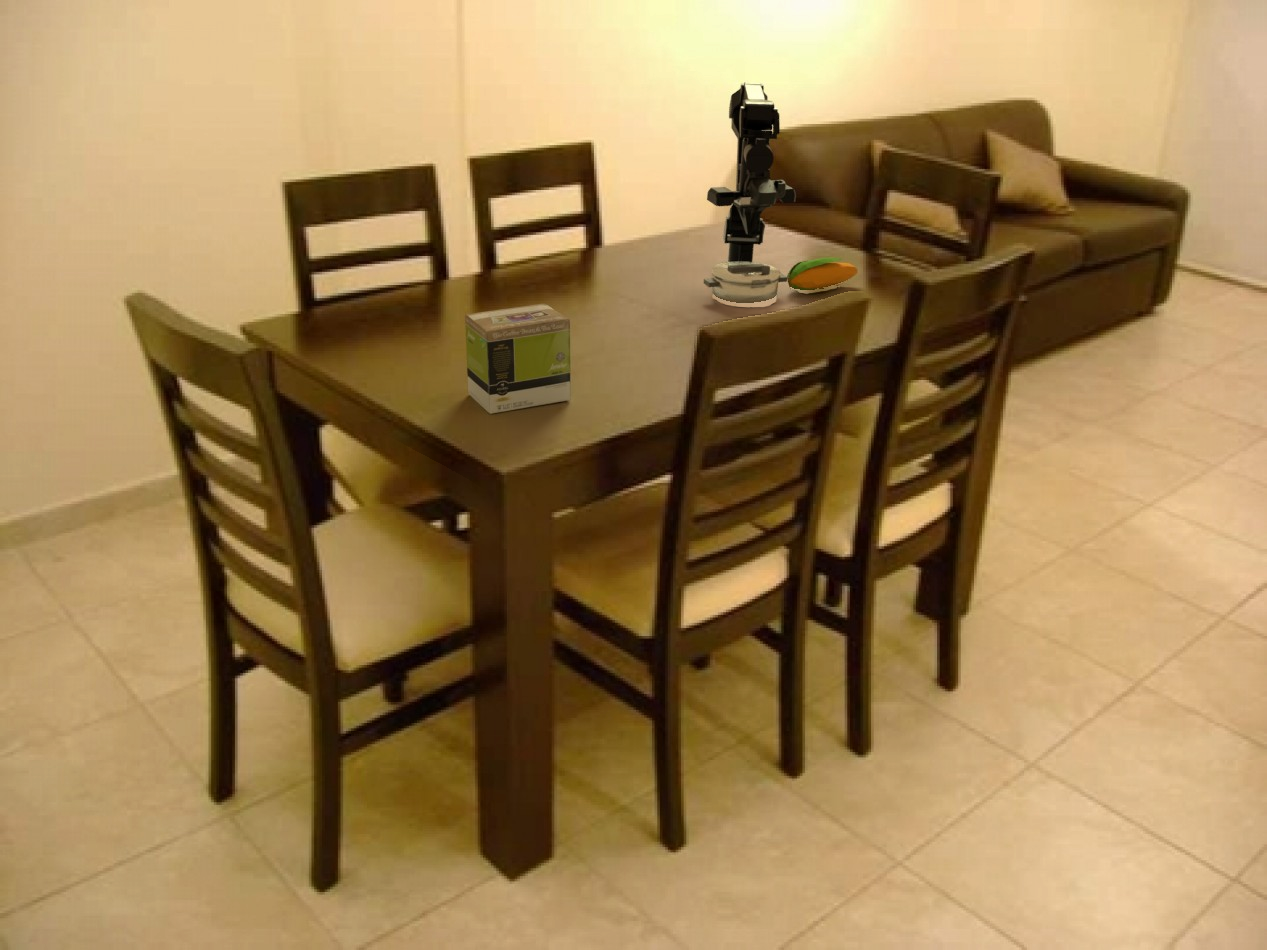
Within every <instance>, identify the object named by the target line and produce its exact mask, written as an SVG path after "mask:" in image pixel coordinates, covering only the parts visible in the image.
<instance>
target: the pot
mask: <svg viewBox="0 0 1267 950" xmlns="http://www.w3.org/2000/svg"><path fill="white" fill-rule="evenodd" d="M786 282H787V283H788V280H787V275H785V274H783V273H781V274H780V279H779V280H778V281H776V282H773V283H770V284H762V285H746V284H736V283H730V282H726V281H722V280H719V279H717V278H715V277H714V276H713V275H712V277H709V278H707V277H706V278H703V284H704V285H705V286H707V287H708V288H712V289H711V294H712V293H713V294H714V295H715V296H716V297H718V298H720V299H723V300H726V301H730V302H736V303H754V302H761V301H766V300H769V299H772V298H774V297H775V296H776V295H777V296H778V292H779V291H778V289H779V288H778V287H779V283H786Z"/></svg>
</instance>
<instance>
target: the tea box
mask: <svg viewBox="0 0 1267 950" xmlns="http://www.w3.org/2000/svg"><path fill="white" fill-rule="evenodd" d="M464 318H465V319H464V322H465V323H464V324H465V341H466V343H465V344H466V372H467V388H468V390H467V391H468V394H469V395H470V397H471V398H472V399H473V400H474V401H475V402H477V404H478V405H479V406H480V407H481V408H483V409H484V410H485V411H486V412H487V413H488V414H498V413H502V412H508V411H514V410H520V409H525V408H532V407H536V406H537V407H538V406H542V405H549V404H555V403H559V402H561V403H562V402H567V401H571V399H572V398H571V395H572V393H571V387H572V386H571V321H570V318H568V317H567V316H565V315H563V314H561V313H560V312H559V311H557V310H556V309H553V308H552V307H551V306H549V305H548V304H547V303H539V304H536V303H535V304H530V305H524V306H517V307H511V308H501V309H496V310H488V311H487V310H486V311H482V312H475V313H473V312H472V313H467V314H466V313H465V317H464Z"/></svg>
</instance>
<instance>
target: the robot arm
mask: <svg viewBox="0 0 1267 950" xmlns="http://www.w3.org/2000/svg"><path fill="white" fill-rule="evenodd" d="M764 89H765V87H764V83H763V84H762V83H761V82H744V83H740V87H739V89H738V90H736V91H735V92H733V93H732V94H731V96H730V101H729V107H728V108H729V109H728V110H729V111H728V119H731V121H730V122H731V123H730V124H731V127H730V128H731V130H732V132H733V133H734V135H735V137H736V138H737V145H736V146H737V147H736V149H737V151H736V152H737V153H736V174H735V175H736V179H735V182H736V183H735V190H731V189H729V188H727V186H726V187H725V186H718V187H717V186H716V187H715V186H713V187H709V189H708V191H707V196H706V200H707V201H708V202H710V203H711V204H712V205H714V206H716V207H730V208H729V210H728V216H725V221H724V227H723V235H722V237H723V243H724V244H728V256H727V262H737V261H742V262H754V261H753V259H754V245H761V244H763V243H764V234H765V229H766V224H765V223H764V221H763V220H764V219H763V218H761V214H762V213H763V212H764V211H765V210H766V209H767V208H771V207H772V205H773V206H774V205H775V204H776V202H777V199H779V200H780V202H782V203H783V204H789V203H795V202H796V198H797V193H796V191H795V189H794V188H793V187H791V186H789V185H787V183H786V181H785V180H784V179H775V180H771V172H770V171H771V170H770V168H771V167H772V166H773V163H774V158H775V157H774V154H773V151H772V149H771V146H770V141H771V140H777V139H778V135H780V133H781V132H780V130H781V129H780V128H781V127H780V121H781V120H780V113H779V109H778V108H777V107H775V103H774V102H773V100H768V95H767V94H766V93H765V91H764Z"/></svg>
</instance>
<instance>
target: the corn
mask: <svg viewBox="0 0 1267 950" xmlns="http://www.w3.org/2000/svg"><path fill="white" fill-rule="evenodd" d="M842 260H843V259H842V257H829V256H828V257H820V258H816V259H811V260H804V261H799V262H796V263H795V264H794V265H793V266H792V267H791V268H790V270H789V272H787V275H786V277H787V283H788V286H789V288H790V287H792V288H794V289H800V290H815V289H817V288H819V289H824V288H823V287H828V286H831V285H835V284H838V283H841V282H844V281H846V280H847V281H848V279H849V280H850V279H852V278H853V277H854V276H856V275H857V274H858V268H857V267H856V266H854V265H853V264H851V263H849V262H838V261H842ZM847 281H846V282H847ZM844 283H845V282H844Z"/></svg>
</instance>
